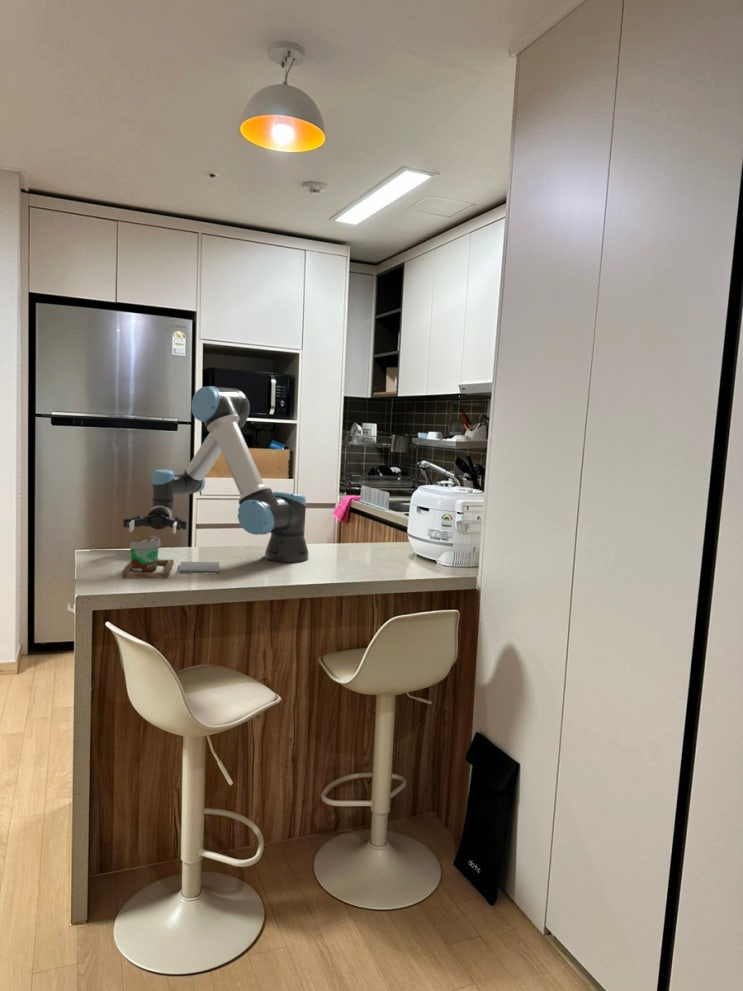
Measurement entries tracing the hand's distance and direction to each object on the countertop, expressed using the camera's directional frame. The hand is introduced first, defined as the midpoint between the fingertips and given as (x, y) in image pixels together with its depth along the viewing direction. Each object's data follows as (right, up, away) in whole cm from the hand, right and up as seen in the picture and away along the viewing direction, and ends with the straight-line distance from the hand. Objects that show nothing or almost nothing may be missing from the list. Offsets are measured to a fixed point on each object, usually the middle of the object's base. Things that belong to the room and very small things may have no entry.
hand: (152, 528), depth 222 cm
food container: (+2, -13, -9) cm, 16 cm away
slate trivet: (+16, -13, -3) cm, 21 cm away
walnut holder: (+2, -13, -9) cm, 16 cm away
